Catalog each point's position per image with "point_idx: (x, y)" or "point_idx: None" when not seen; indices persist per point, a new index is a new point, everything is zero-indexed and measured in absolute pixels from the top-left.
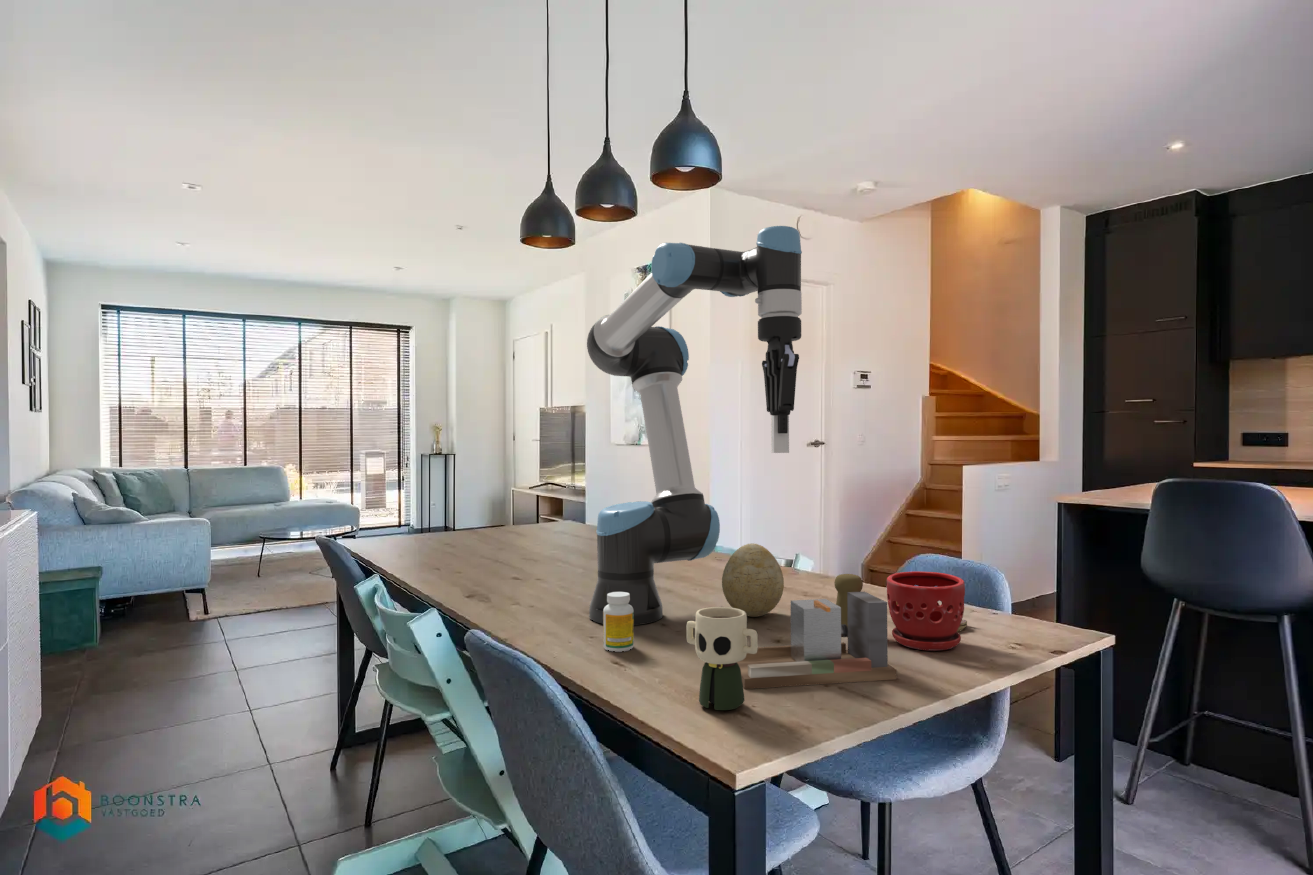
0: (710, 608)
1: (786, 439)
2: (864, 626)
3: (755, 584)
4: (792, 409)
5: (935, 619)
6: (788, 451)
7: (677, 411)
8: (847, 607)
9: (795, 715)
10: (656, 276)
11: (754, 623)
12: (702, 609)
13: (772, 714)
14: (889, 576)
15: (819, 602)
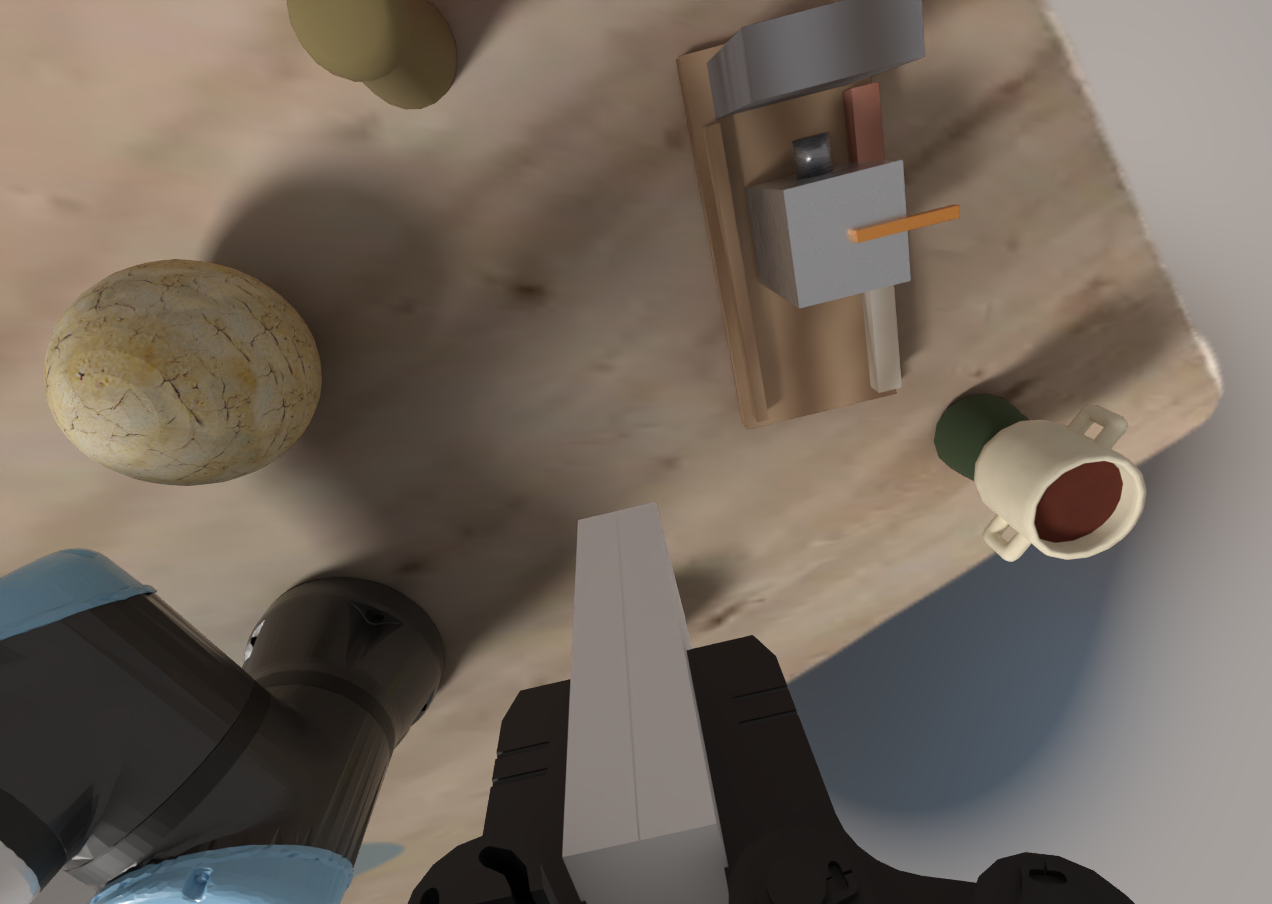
0: (1035, 531)
1: (675, 595)
2: (856, 78)
3: (304, 372)
4: (1089, 883)
5: None
6: (656, 512)
7: None
8: (423, 48)
9: (1036, 299)
10: None
11: (349, 344)
12: (1047, 548)
13: (1024, 342)
14: None
15: (888, 229)
